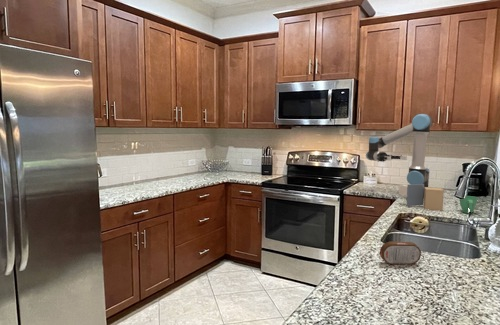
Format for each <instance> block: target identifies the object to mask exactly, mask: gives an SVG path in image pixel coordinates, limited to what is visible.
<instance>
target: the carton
mask: <svg viewBox="0 0 500 325" xmlns="http://www.w3.org/2000/svg"><path fill="white" fill-rule="evenodd" d="M444 192H445V190H444V189H443V188H441V187H430V186H428V187H424V199H423V205H422V207H423V206H424V207H423V208H424V210H425V209H429V210H428V211H437V210H440V211H439V212H442V211H443V209H444Z"/></svg>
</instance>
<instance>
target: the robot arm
mask: <svg viewBox="0 0 500 325" xmlns="http://www.w3.org/2000/svg"><path fill="white" fill-rule="evenodd" d="M433 124H434V120H433V117H431V115H429V114H426V113H419V114H416V115H415V116H414V117H413V118H412V121H411V123H410V124H408V125H406V126H403V127H402V128H399V129H397V130H395V131H392V132H391V133H388V134H386V135H384V136H381V137H379V136H369V137H368V151H367V152H366V153H365V154H366V155H365V157H366V159H367V160H369V161H375V162H378V163H379V162H383V163H385V162H386V161H392V160H401V161H408V157H407V156H406V155H402V154H401V155H392V154H387V153H386V152H384V151H379V149H381V148H383V147H386V146H387V145H390V144H392V143H394V142H397V141H398V140H401V139H404V138H406V137H408V136H411V135H412V134H414V135H413V145H412V147H413V148H412V157H411V165H410V166H409V167H408V173H407V174H406V180H407V183H408V185H409V184H424V187H429V182H430V181H429V180H430V169H429V168H427V167H425V160H426V150H427V141H428V140H427V138H428V135H429V134H430V133H431V132H430V131H431V127H432V126H433Z"/></svg>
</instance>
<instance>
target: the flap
mask: <svg viewBox="0 0 500 325" xmlns="http://www.w3.org/2000/svg"><path fill="white" fill-rule="evenodd" d="M398 195H399V196H403V197H406V206H408V207H410V206H411V207H412V206H413V207H414V206H423V205H424V184H409V183H408V184H399V188H398Z"/></svg>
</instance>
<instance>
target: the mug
mask: <svg viewBox="0 0 500 325" xmlns="http://www.w3.org/2000/svg"><path fill="white" fill-rule="evenodd" d="M465 196H466V198H465V199H459V204H460V208H461V211H462V213H464V214H468V213H467V212H468V208H469V209H470V212H471V213H470V214H472V213H473V212H474V210H475V208H476V206H477V203H478V197H477V196H471V195H465Z"/></svg>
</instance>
